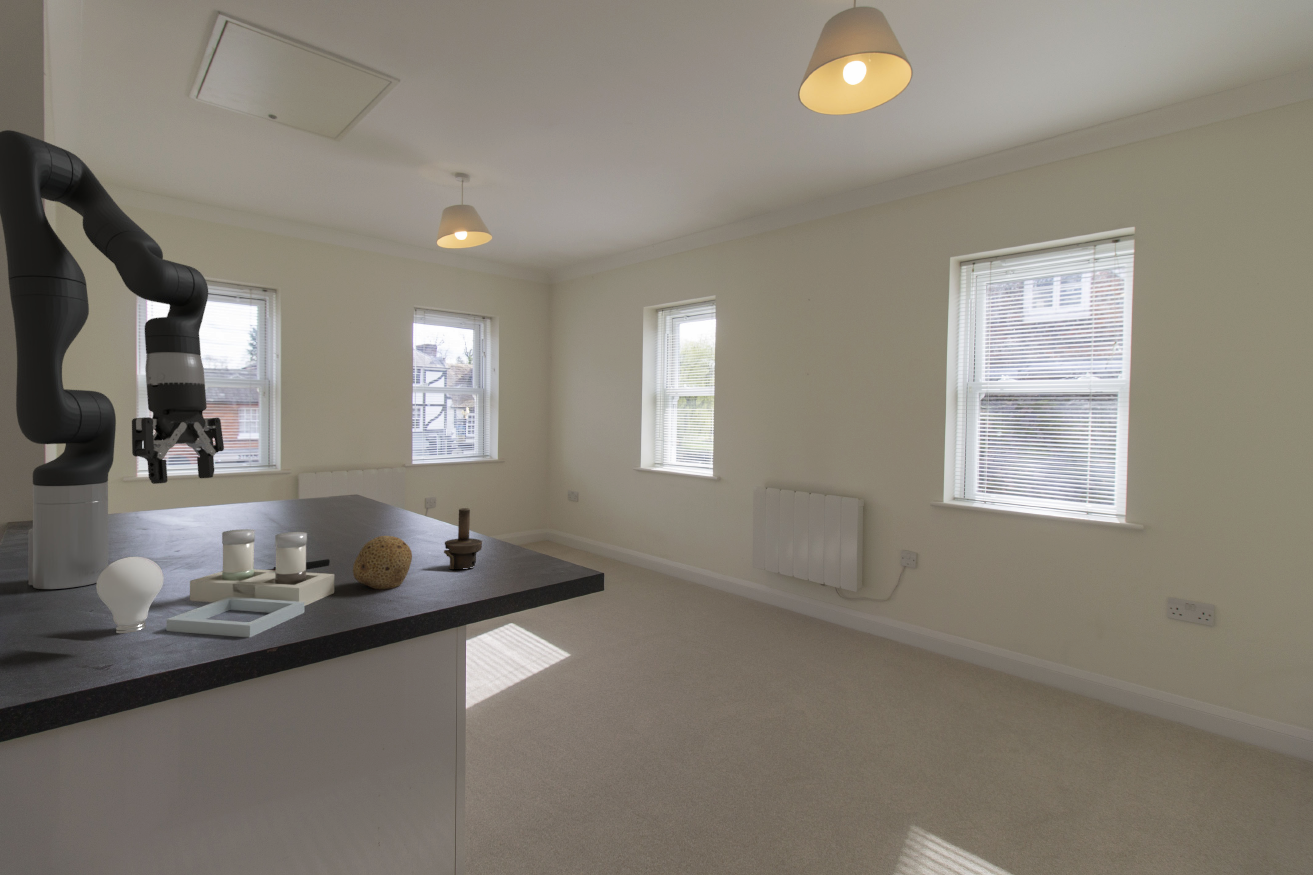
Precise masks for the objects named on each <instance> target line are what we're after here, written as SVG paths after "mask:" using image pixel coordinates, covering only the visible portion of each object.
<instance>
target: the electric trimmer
mask: <svg viewBox="0 0 1313 875" xmlns="http://www.w3.org/2000/svg"><path fill="white" fill-rule="evenodd" d="M330 562H331V561H330V559H320V560H313V561H306V571H307V570H312V569H318V568H322V567H323V568H324V567H329V566H330ZM267 570H275V571H276V566H274V567H273V568H268V569H267Z"/></svg>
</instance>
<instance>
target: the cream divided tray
mask: <svg viewBox="0 0 1313 875" xmlns="http://www.w3.org/2000/svg"><path fill="white" fill-rule="evenodd" d="M222 571H223V570H221V571H218V572H215V573H211V574H209V575H204V576H201V577H198V578H194V579H191V580H189V601H190V602H203V603H214V602H216V601H219V600H222V599H225V598H228V597H239V598H254V599H268V600H283V601H297V602H304V607H305V606H308V605H310V604H312V603H315V602H317V601H319V600H321V599H323V598H326V597H328V596H331V595H332V594H334V593H335V573H322V572H321V573H319V572H306V581H303V582H301V583H298V584H296V585H287V584H275V572H276V571H275V570H268V569H258V568H257V569H256V568H254V577H252V578H249V579H246V580H243V581H227V580H223V579H222Z"/></svg>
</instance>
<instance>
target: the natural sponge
mask: <svg viewBox="0 0 1313 875" xmlns="http://www.w3.org/2000/svg"><path fill="white" fill-rule="evenodd" d="M362 546H363V547H361V549H360V551H359V552H358V555H357V556H356V558H355V560H354V562H353V566H352V573H353V577H354V579H355V580H356V581H357V582H358V583H359V584H362V585H365V586H368V587H370V588H372V589H374V590H389V589H395V588H398V587H400V586H401V585H402V584H403V582H404V581H405V579H406V578H407V575H408V573H409V571H410V568H411V564H412V559H413V553H412V549H411V548H410V546H409V545H408V544H407V542H405V541H404V540H403V539H401V538H399V537H396V536H391V535H381V536H377V537H374V538H372V539H371V540H369V541H368V542H366V543H365V544H364V545H362Z"/></svg>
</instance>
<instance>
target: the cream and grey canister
mask: <svg viewBox="0 0 1313 875" xmlns="http://www.w3.org/2000/svg"><path fill="white" fill-rule="evenodd" d="M274 537H275V539H274V540H275V541H274V543H275V544H274V545H275V567H276V572H275V584H287V585H296V584H298V583H301V582H303V581H306V573H307V570H306V562H307V545H308V544H307V543H308V532H303V531H293V532H292V531H291V532H281V533H278V534H276V535H275V536H274Z"/></svg>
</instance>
